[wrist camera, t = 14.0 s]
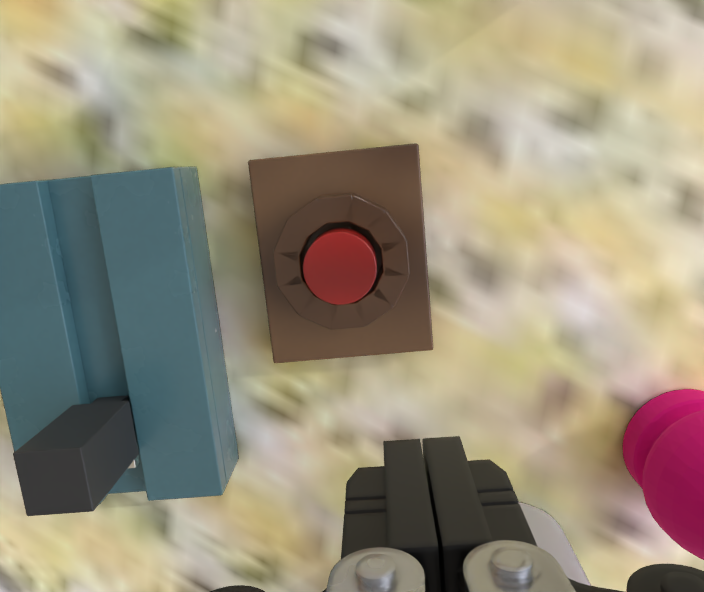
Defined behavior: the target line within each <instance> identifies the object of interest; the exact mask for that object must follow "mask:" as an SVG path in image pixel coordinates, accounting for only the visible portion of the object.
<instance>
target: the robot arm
mask: <svg viewBox="0 0 704 592" xmlns="http://www.w3.org/2000/svg"><path fill="white" fill-rule="evenodd" d="M383 443H384V465H385V466H380V467H364V468H358V469H357V470H356V471H355V473H354V474H353V475H352V476H351V477H350V479H349V480H348V481H347V484H346V501H345V515H344V525H343V539H342V553H341V560H340V561H339V562H338V563H337V564H336V565H335V566H334V567H333V569H332V571H331V573H330V576H329V580H328V585H327V588H326V589H325V590H324V591H323V592H623V591H617V590H611V589H605V588H599V587H594V586H589V585H586V584H582V583H579V582H576V581H574V580H572V579H569V578H567V576H566V574H565V572H564V571H563V569H562V567H561V566H560V564H559V563H558V561H557V560H556V559H555V558H554V557H553V556H552V555H551V554H550V553H548V552H547V551H545V550H544V549H542V548H540V547H538V546H537V543H536V541H535V539H534V536H533V534H532V532H531V529H530V527H529V525H528V522H527V520H526V518H525V515H524V513H523V511H522V508H521V506H520V504H519V503H518V499H517V497H516V494H515V492H514V491H513V487H512V485H511V483H510V480H509V478H508V476H507V473H506V472H505V471H504V470H502V469H501V468H500V467H499V466H497V465H496V464H495V463H493V462H492V461H491V460H474V461H467V458H466V455H465V452H464V449H463V445H462V442H461V439H460V437H459V436H456V437H440V438H425V439H423V441H422V443H423V455H422V449H421V443H420V439H411V440H396V441H383ZM210 592H265V591H263V590H261V589H259V588H255V587H252V586H243V585H240V586H228V587H223V588H219V589H216V590H213V591H210ZM627 592H704V571H702V570H699V569H696V568H692V567H688V566H683V565H676V564H655V565H650V566H646V567H643V568H641V569H639V570H637V571H636V572H634V573H633V574H632V575H631V576H630V578H629V580H628V583H627Z"/></svg>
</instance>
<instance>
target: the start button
mask: <svg viewBox="0 0 704 592" xmlns="http://www.w3.org/2000/svg"><path fill="white" fill-rule="evenodd" d="M376 273H377V261H376V254H375V251H374V249H373V246H372V245H371V243H370V242H369V241H368V239H367V238H366V237H365V236H363V235H362V234H361V233H359V232H357V231H355V230H352V229H348V228H335V229H331V230H328V231H326V232H324V233H322V234H321V235H320V236H318V237H317V238H316V239H315V240H314V242H313V243H312V245H311V246H310V247H309V249H308V251H307V252H306V255H305V258H304V262H303V274H304V278H305V281H306V283H307V285H308V287H309V289H310V290H311V291H312V292H313V293H314V294H315V295H316V296H317V297H318V298H320V299H321V300H323V301H325V302H328V303H331V304H337V305H344V304H349V303H353V302H355V301H357V300H359V299H361V298H362V297H363V296H365V295H366V294H367V293H368V292H369V290H370V289H371V287H372V286H373V284H374V281H375V278H376Z"/></svg>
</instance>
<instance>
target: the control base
mask: <svg viewBox="0 0 704 592" xmlns="http://www.w3.org/2000/svg"><path fill="white" fill-rule="evenodd" d="M0 390H1V394H2V399H3V403H4V408H5V412H6V416H7V421H8V425H9V430H10V434H11V439H12V443H13V448H14V452H15V451H16V450H18V449H19V448H20V447H21V446H23V445H24V444H25V443H26V442H28V441H29V440H30V439H31V438H32V437H34V436H35V435H36V434H37V433H39V432H40V431H41V430H42V429H44V428H45V427H46V426H47V425H49V424H50V423H51V422H52V421H53V420H55V419H56V418H57V417H58V416H60V415H61V414H62V413H63V412H65V411H66V410H67V409H68V408H69V407H71V406H72V405H80V404H91V403H92V402H93V401H94V400H96V399H97V398H99V397H112V396H124V395H128V397H129V402H130V408H131V413H132V419H133V425H134V430H135V436H136V442H137V447H138V453H139V454H138V456H137V457H136V458H135V460H134V461H133V462H132V463H131V465H130V466H129V467H128V468H127V470H126V471H125V472H124V473H123V475H122V476H121V477H120V478H119V480H118V481H117V482H116V483H115V485H114V486H113V487H112V488H111V490H110V491H109V492H108V493H107V495H108V494H112V493H126V492H139V491H146V492H147V498H148V500H149V501H150V500H164V499H178V498H192V497H205V496H219V495H223V492H224V490H225V488H226V486H227V483H228V481H229V479H230V477H231V474H232V472H233V470H234V468H235V466H236V463H237V461H238V459H239V456H238V449H237V442H236V435H235V428H234V421H233V414H232V407H231V400H230V393H229V387H228V380H227V373H226V366H225V359H224V352H223V345H222V338H221V331H220V324H219V317H218V310H217V303H216V297H215V290H214V283H213V276H212V269H211V262H210V255H209V248H208V241H207V234H206V227H205V220H204V213H203V207H202V200H201V193H200V186H199V179H198V172H197V167H167V168H157V169H147V170H137V171H127V172H117V173H107V174H97V175H91V176H83V177H73V178H63V179H53V180H39V181H27V182H17V183H7V184H0ZM107 495H106V496H107ZM106 496H105V497H106ZM105 497H104V498H103V500H104V499H105ZM103 500H102V501H103ZM102 501H101V502H102ZM101 502H100V503H99V504H101Z"/></svg>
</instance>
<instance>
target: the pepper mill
mask: <svg viewBox="0 0 704 592" xmlns="http://www.w3.org/2000/svg"><path fill="white" fill-rule="evenodd" d="M623 457H624V461H625V464H626V467H627V469H628V471H629V472H630V474H631V476H632V477H633V478H634V479H635V481H636V482H637V483H638V484H639V485H640V487H641V488H642V489H643V493H644V497H645V501H646V504H647V506H648V508H649V511H650V513H651V515H652V517H653V518H654V519H655V521H656V522H657V523H658V525H659V526H660V527H661V528H662V529H663V530H664V531H665V532H666V533H667V534H668V535H669V536H670V537H671V538H672V539H673V540H674V541H675V542H676V543H678V544H679V545H680V546H681V547H682V548H684V549H685V550H687V551H689V552H690V553H692V554H694V555H695V556H697V557H699V558H700V559H703V560H704V391H701V390H694V389H682V390H674V391H670V392H666V393H663V394H661V395H659V396H657V397H655V398H653V399H651V400H650V401H648V402H647V403H646V404H645V405H644V406H642V407H641V408H640V409H639V410H638V411H637V412H636V413H635V415H634V416H633V418H632V419H631V421H630V422H629V424H628V426H627V429H626V432H625V434H624V439H623Z"/></svg>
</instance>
